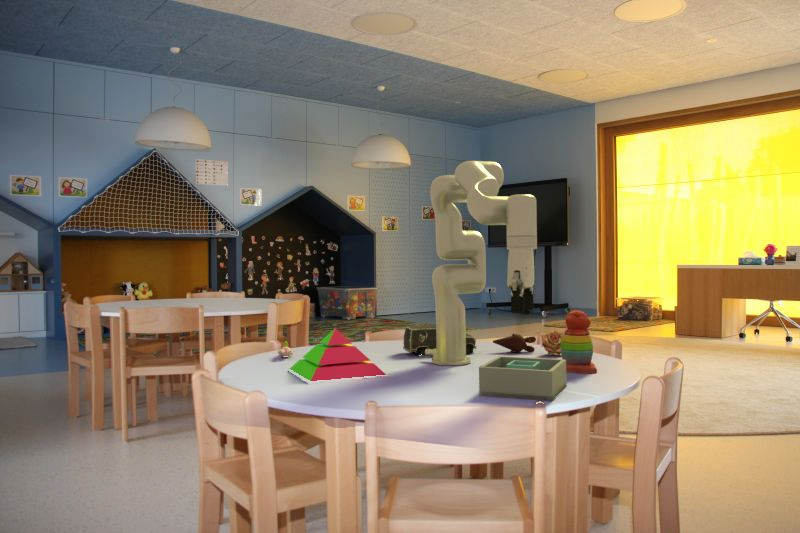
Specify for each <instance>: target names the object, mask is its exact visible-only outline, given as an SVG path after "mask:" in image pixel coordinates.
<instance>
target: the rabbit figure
mask: <svg viewBox="0 0 800 533" xmlns="http://www.w3.org/2000/svg"><path fill="white" fill-rule="evenodd" d="M295 352H296V350H292V349H291V347H289V343H288V341H287V340H285V341H284V343H283V347H281V348H280V349H279V350H278V351H277V354H278V355H279V356H280V355H281V356H280V357H282V356H289V357H291V356H292V355H294V353H295ZM290 355H291V356H290Z"/></svg>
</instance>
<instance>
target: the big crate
mask: <svg viewBox="0 0 800 533" xmlns="http://www.w3.org/2000/svg"><path fill="white" fill-rule="evenodd" d="M513 360H516V361H535V362H540V370H532V369H515V368H506V365H507V364H508V363H510V362H512V361H513ZM566 387H567V371H566V360H564V359H562V358H561V359H558V358H544V357H543V358H540V357H539V358H538V357H525V356H524V357H523V356H522V357H520V356H501V355H499V356H497V357H495V358H493V359H491V360H489V361H488V362H486V363H483V364H482V365H480V366H479V367H478V390H479V391H478V392H479V394H478V395H479V396H484V397H499V398H509V399H519V400H520V399H521V400H534V401H535V400H536V401H546V400H551V401H550V402H553V401H555V399H556V398H557V397H558V396H559V395H560V394H561V393H562V392H563V391H562V390H565V388H566ZM561 391H562V392H561ZM560 392H561V393H560ZM559 393H560V394H559ZM558 394H559V395H558ZM557 395H558V396H557ZM556 396H557V397H556ZM555 397H556V398H555Z"/></svg>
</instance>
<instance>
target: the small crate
mask: <svg viewBox="0 0 800 533" xmlns="http://www.w3.org/2000/svg"><path fill="white" fill-rule="evenodd" d="M506 368H515V369H532V370H540V362H535V361H516V360H513V361H512V362H510V363H508V364H507V365H506Z"/></svg>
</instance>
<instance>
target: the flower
mask: <svg viewBox="0 0 800 533" xmlns="http://www.w3.org/2000/svg"><path fill="white" fill-rule="evenodd" d="M563 334H564V332H562V331H561V332H560V331H557V330H555V329H554V330H551V331H550V332H547V333H546V332H545V333H543V334H541V336H540V337H541V339H540V340H541V347H543V348H544V350H545V351H546V352H547V354H546V356H548V355H553V354H555V355H557V356H561V341H562V336H563Z"/></svg>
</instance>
